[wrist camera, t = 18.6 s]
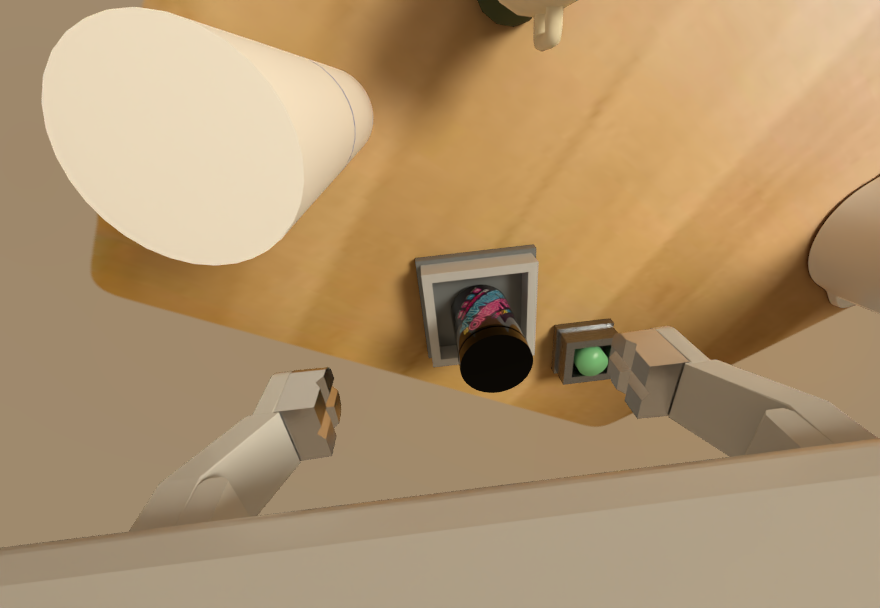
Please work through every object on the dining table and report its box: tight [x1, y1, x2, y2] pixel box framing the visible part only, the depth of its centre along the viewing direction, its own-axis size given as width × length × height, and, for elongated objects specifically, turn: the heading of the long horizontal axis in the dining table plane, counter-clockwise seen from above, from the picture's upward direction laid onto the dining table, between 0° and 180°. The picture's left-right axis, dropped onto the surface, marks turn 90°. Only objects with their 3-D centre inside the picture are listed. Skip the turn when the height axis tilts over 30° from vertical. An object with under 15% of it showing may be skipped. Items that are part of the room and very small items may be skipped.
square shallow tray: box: [415, 244, 538, 367], centre depth 42 cm, size 13×13×4 cm
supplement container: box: [450, 284, 533, 393], centre depth 38 cm, size 7×7×10 cm
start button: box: [573, 346, 608, 376], centre depth 45 cm, size 4×4×2 cm
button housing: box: [551, 319, 618, 385], centre depth 46 cm, size 7×7×4 cm
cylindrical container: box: [41, 7, 373, 265], centre depth 22 cm, size 7×7×25 cm
